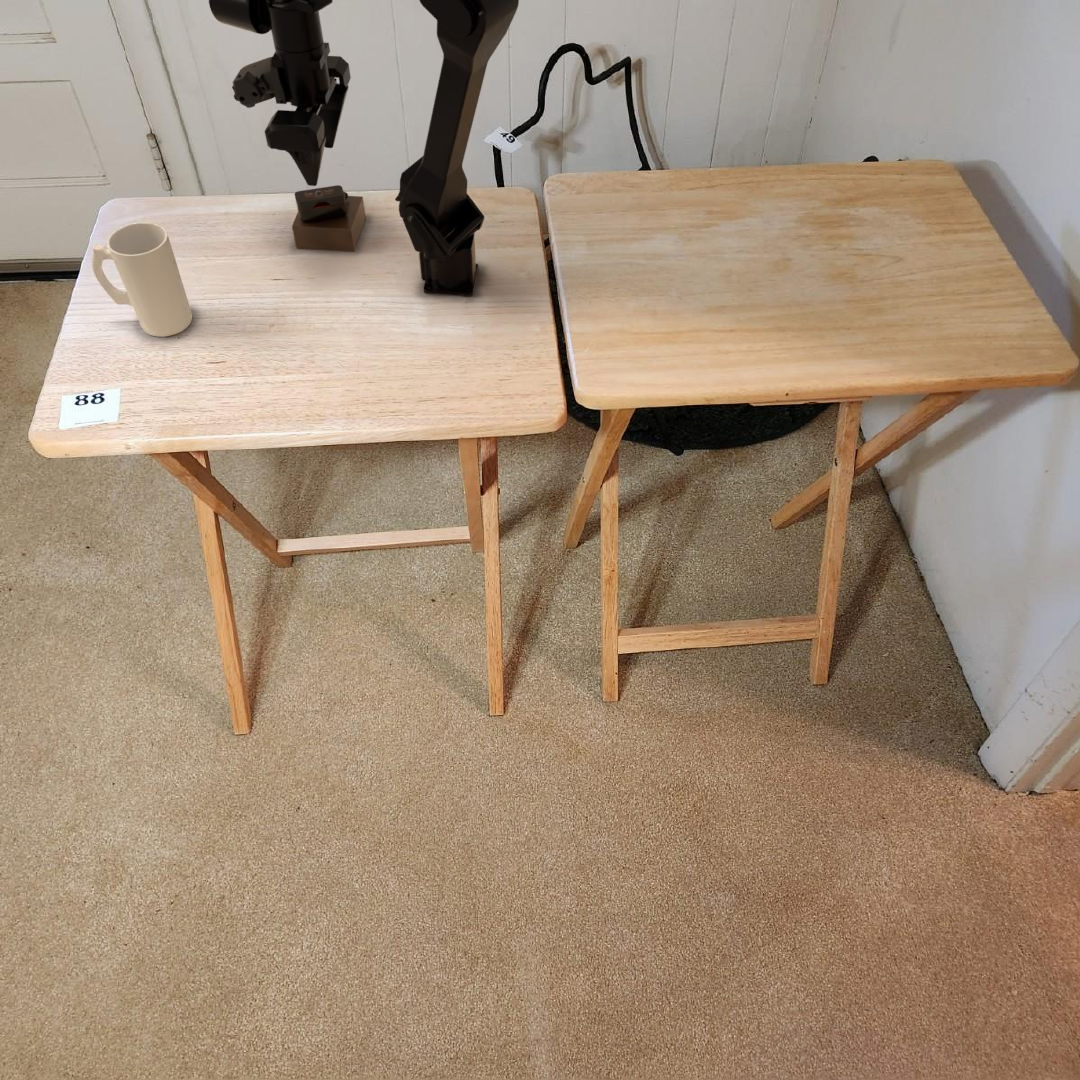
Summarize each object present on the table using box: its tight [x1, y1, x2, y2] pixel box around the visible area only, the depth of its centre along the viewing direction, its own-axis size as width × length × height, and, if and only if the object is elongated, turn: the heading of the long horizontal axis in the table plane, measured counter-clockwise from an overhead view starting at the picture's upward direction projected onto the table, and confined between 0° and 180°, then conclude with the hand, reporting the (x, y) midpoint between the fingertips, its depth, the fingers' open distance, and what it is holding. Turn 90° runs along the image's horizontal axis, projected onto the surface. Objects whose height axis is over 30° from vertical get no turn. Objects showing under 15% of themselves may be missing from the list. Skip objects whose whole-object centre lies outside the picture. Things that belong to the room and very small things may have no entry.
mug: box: [91, 221, 193, 338], centre depth 118 cm, size 10×7×12 cm, turn 89°
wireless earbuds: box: [294, 184, 349, 222], centre depth 131 cm, size 5×7×3 cm, turn 107°
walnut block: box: [291, 195, 367, 253], centre depth 133 cm, size 8×8×4 cm
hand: (320, 165), depth 126 cm, fingers open, 9 cm apart
